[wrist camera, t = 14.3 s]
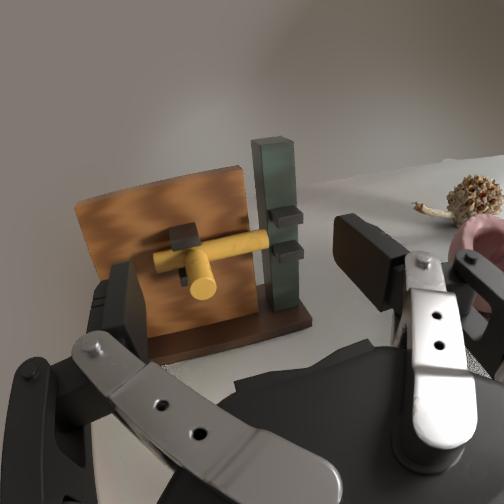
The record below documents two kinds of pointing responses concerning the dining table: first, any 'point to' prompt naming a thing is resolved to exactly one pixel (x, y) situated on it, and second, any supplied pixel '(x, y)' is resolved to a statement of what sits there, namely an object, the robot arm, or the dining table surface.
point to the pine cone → (469, 200)
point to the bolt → (208, 259)
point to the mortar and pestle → (481, 245)
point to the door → (224, 270)
